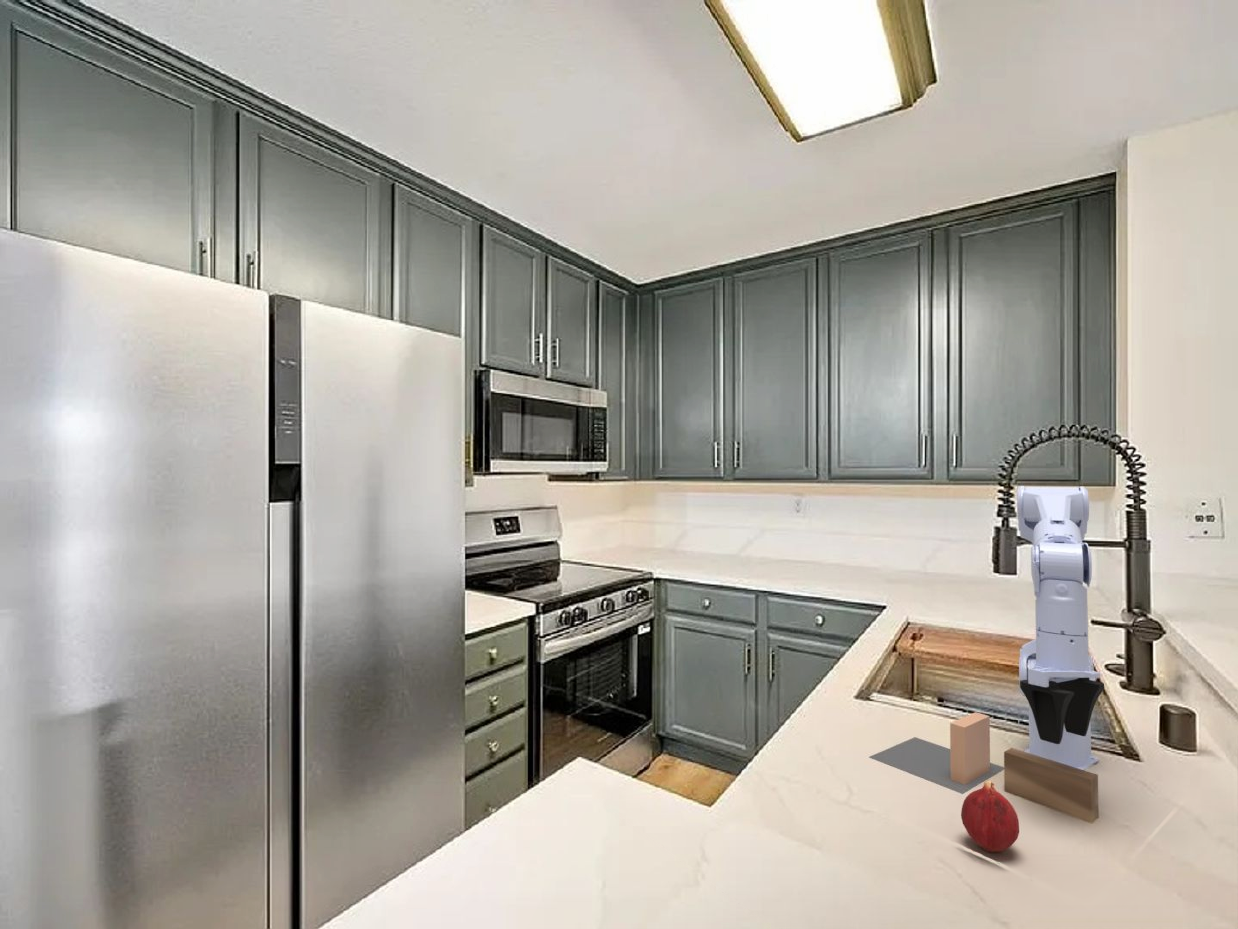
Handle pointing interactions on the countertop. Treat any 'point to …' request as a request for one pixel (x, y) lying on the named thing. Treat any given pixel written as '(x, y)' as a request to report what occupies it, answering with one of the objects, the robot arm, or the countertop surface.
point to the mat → (929, 763)
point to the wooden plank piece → (1051, 784)
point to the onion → (990, 819)
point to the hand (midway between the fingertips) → (1063, 737)
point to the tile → (969, 747)
